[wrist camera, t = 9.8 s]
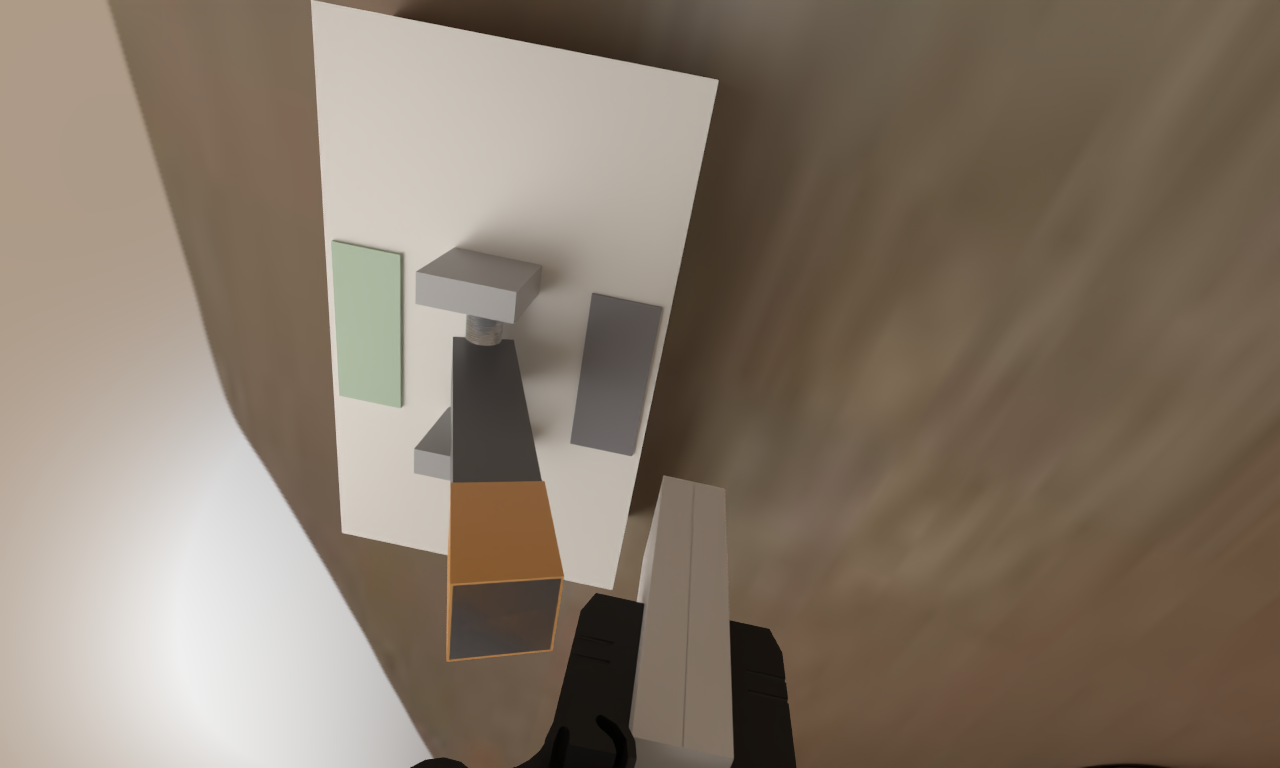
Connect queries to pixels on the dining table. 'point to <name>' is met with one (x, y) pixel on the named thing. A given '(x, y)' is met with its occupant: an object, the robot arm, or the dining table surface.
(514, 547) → the switch lever
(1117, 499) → the dining table surface
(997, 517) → the dining table surface
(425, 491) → the switch box
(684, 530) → the robot arm
